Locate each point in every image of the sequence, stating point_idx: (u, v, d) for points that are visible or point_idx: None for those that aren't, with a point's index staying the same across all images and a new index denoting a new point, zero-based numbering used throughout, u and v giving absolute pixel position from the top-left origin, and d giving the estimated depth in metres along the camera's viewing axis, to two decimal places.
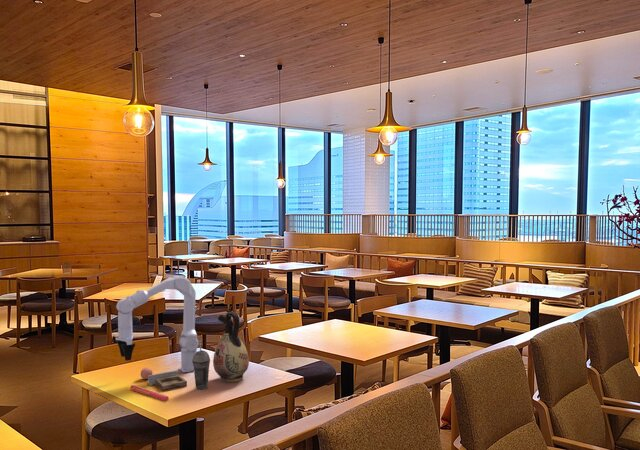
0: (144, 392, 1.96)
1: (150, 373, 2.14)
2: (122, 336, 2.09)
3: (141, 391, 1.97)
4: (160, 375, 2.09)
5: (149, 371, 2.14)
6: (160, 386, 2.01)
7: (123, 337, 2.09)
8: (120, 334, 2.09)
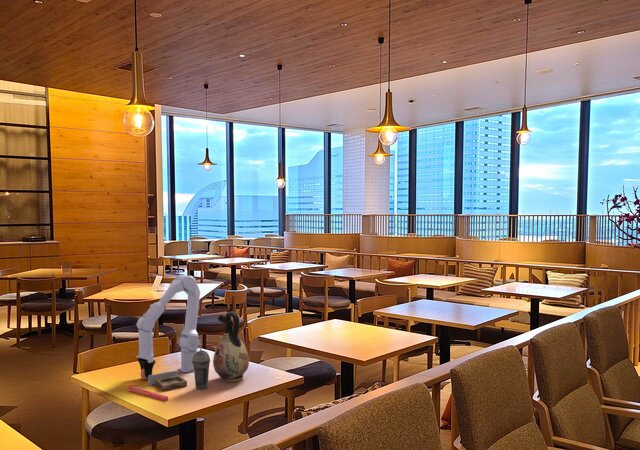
0: (142, 393, 1.95)
1: None
2: (143, 354, 2.12)
3: (139, 392, 1.96)
4: (160, 375, 2.09)
5: None
6: (160, 386, 2.01)
7: (144, 355, 2.12)
8: (141, 352, 2.12)
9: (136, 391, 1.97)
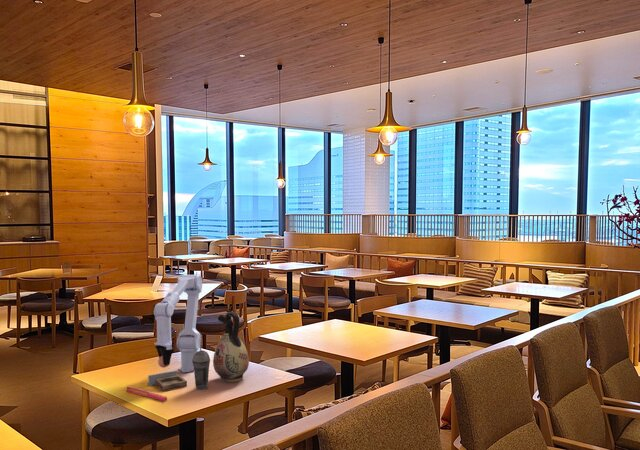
0: (141, 393, 1.95)
1: None
2: (161, 341, 2.04)
3: (138, 392, 1.96)
4: (160, 375, 2.09)
5: None
6: (160, 386, 2.01)
7: (162, 342, 2.04)
8: (159, 339, 2.05)
9: (135, 391, 1.97)
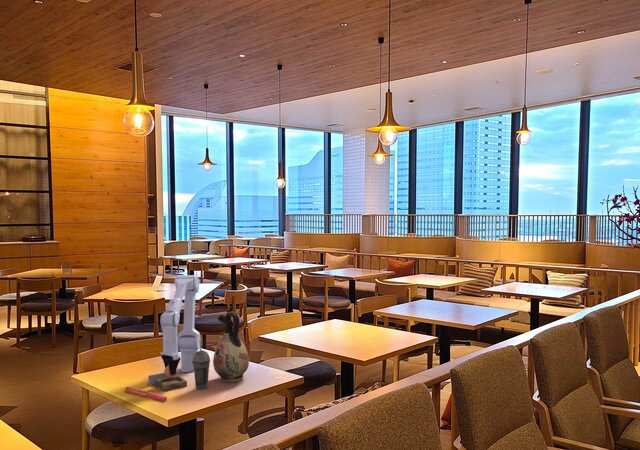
0: (140, 393, 1.94)
1: None
2: (167, 350, 2.03)
3: (137, 392, 1.96)
4: (160, 375, 2.09)
5: None
6: (160, 386, 2.01)
7: (168, 351, 2.03)
8: (165, 348, 2.03)
9: (134, 392, 1.97)
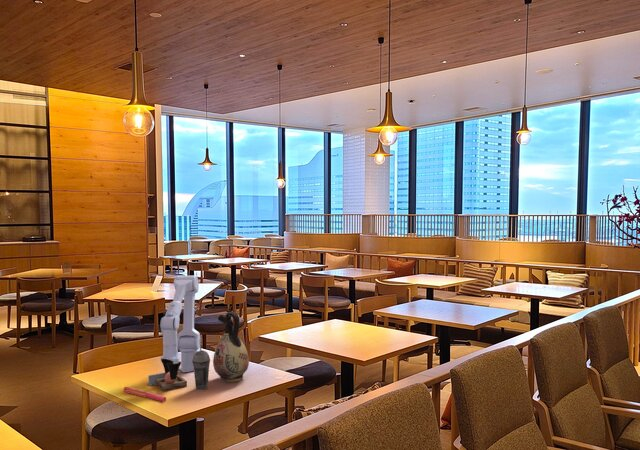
0: (139, 394, 1.94)
1: None
2: (168, 354, 2.03)
3: (136, 393, 1.95)
4: (160, 375, 2.09)
5: None
6: (160, 386, 2.01)
7: (169, 355, 2.03)
8: (165, 352, 2.03)
9: (133, 392, 1.96)
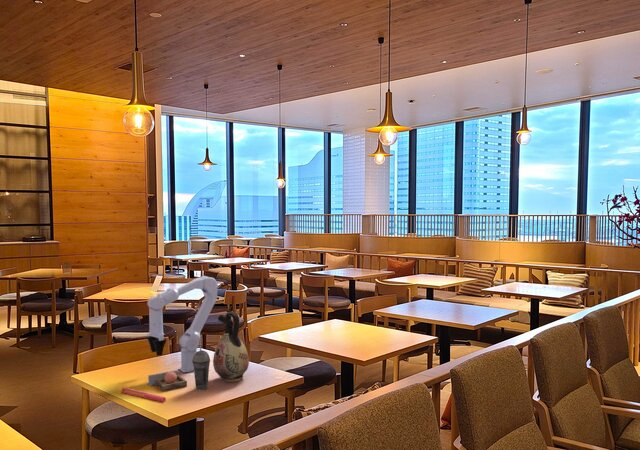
0: (138, 394, 1.93)
1: (174, 377, 2.04)
2: (153, 332, 2.17)
3: (134, 393, 1.95)
4: (160, 375, 2.09)
5: (173, 375, 2.04)
6: (160, 386, 2.01)
7: (154, 333, 2.17)
8: (151, 330, 2.17)
9: (131, 393, 1.95)
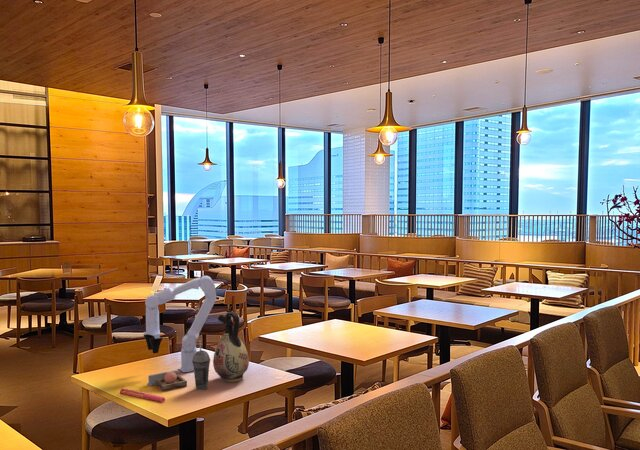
0: (137, 395, 1.93)
1: (174, 377, 2.04)
2: (150, 330, 2.21)
3: (133, 394, 1.94)
4: (160, 375, 2.09)
5: (173, 375, 2.04)
6: (160, 386, 2.01)
7: (151, 331, 2.21)
8: (148, 328, 2.21)
9: (130, 393, 1.95)
